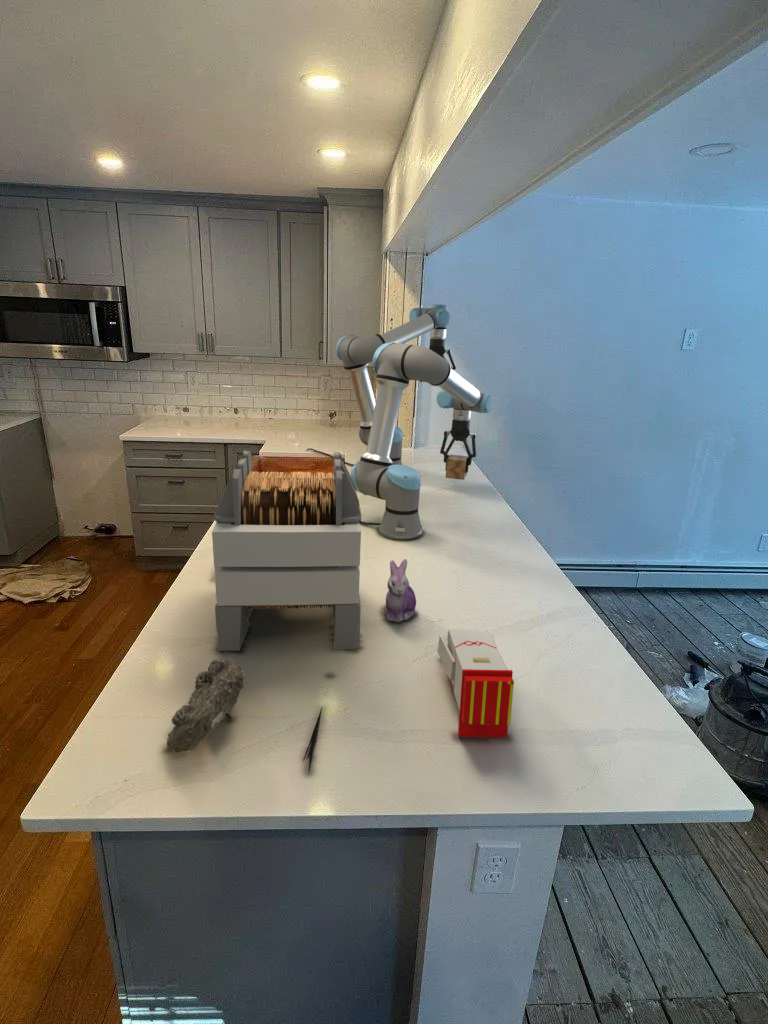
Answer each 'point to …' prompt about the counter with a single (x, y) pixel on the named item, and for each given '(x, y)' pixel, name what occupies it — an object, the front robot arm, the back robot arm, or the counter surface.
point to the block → (456, 467)
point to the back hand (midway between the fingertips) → (434, 383)
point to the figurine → (399, 594)
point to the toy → (478, 682)
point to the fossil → (206, 705)
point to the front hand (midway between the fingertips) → (456, 470)
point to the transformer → (287, 549)
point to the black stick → (313, 740)
